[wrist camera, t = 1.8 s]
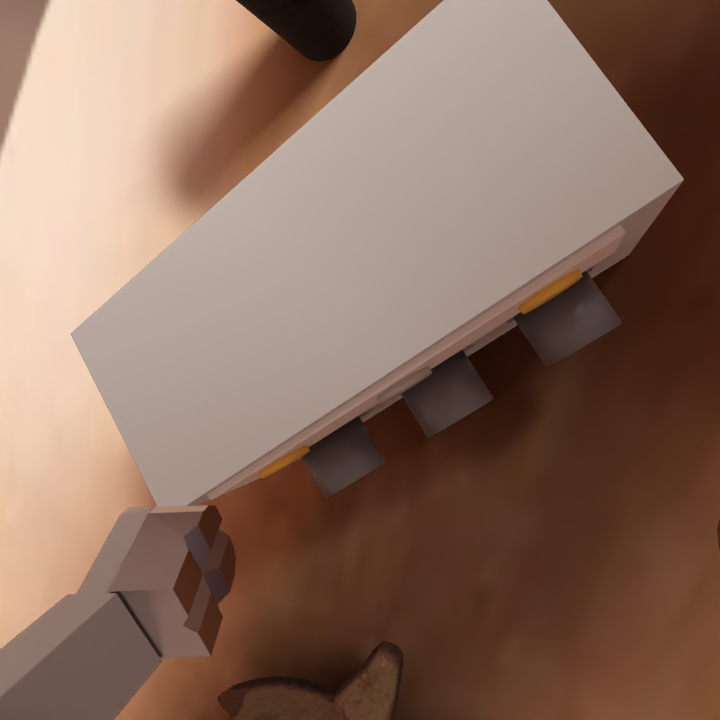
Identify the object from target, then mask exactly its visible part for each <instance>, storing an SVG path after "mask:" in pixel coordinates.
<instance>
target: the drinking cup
mask: <svg viewBox="0 0 720 720" xmlns="http://www.w3.org/2000/svg"><path fill="white" fill-rule="evenodd" d="M236 1H238V2H239V3H240V4H241V5H243V6H244V7H245V8H246V9H247V10H249V11H250V12H251V13H252V14H254V15H255V16H256V17H257V18H258V19H260V20H261V21H262V22H263V23H265V24H266V25H267V26H268V27H270V28H271V29H272V30H273V31H274V32H276V33H277V34H278V35H279V36H281V37H282V38H283V39H284V40H285V41H287V42H288V43H289V44H290V45H292V46H293V47H294V48H295V49H296V50H298V51H299V52H300V53H301V54H303V55H304V56H305V57H307V58H309V59H311V60H316V61H321V60H327V59H330V58H332V57H334V56H336V55H337V54H339V53H340V52H341V51H342V50H343V49H344V48H345V47H346V46H347V44H348V43H349V41H350V39H351V38H352V35H353V33H354V30H355V25H356V10H355V7H354V4H353V2H352V0H236Z"/></svg>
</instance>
